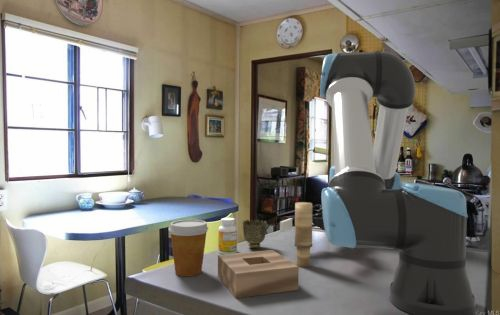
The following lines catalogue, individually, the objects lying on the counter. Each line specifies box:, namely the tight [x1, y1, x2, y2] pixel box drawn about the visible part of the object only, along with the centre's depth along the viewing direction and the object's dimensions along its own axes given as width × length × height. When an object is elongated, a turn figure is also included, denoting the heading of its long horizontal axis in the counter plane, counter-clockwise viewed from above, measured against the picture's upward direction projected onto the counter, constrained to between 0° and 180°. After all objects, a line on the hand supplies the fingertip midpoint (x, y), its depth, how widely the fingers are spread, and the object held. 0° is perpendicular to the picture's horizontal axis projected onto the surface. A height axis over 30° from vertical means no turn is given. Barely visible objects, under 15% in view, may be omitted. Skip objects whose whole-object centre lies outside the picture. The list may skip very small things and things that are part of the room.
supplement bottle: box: [217, 217, 238, 255], centre depth 110 cm, size 5×5×10 cm
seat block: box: [217, 249, 300, 299], centre depth 85 cm, size 14×14×5 cm
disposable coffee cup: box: [168, 219, 209, 277], centre depth 92 cm, size 10×10×12 cm
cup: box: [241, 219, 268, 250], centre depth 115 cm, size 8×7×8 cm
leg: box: [293, 201, 313, 268], centre depth 98 cm, size 5×5×16 cm
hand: (304, 229), depth 99 cm, fingers open, 13 cm apart
